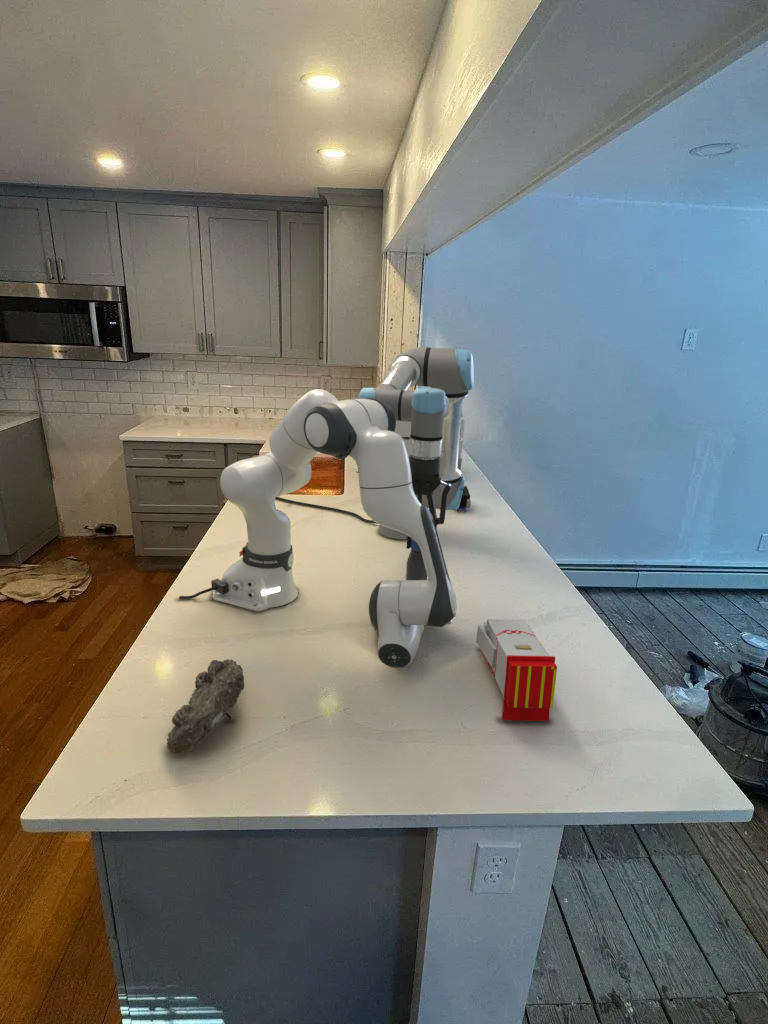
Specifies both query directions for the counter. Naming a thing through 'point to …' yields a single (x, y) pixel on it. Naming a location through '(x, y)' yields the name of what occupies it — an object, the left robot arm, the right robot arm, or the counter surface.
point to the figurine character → (465, 499)
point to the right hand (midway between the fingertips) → (418, 547)
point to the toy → (519, 668)
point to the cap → (414, 545)
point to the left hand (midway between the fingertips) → (415, 592)
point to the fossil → (206, 705)
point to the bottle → (415, 566)
